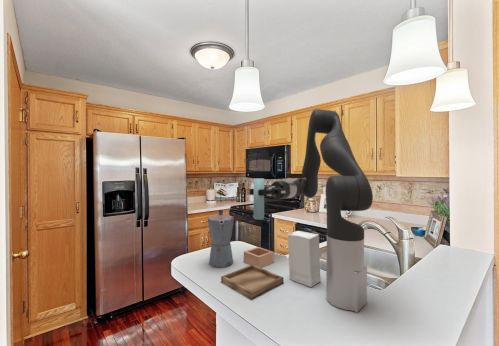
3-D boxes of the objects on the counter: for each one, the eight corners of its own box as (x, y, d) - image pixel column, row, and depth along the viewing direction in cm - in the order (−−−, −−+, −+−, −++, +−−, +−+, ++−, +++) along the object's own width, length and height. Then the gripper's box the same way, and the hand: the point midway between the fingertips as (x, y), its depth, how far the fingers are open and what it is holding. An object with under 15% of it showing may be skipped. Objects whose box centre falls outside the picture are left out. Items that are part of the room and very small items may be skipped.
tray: (283, 283, 73) (283, 277, 73) (251, 299, 63) (251, 293, 63) (252, 269, 83) (252, 264, 83) (221, 282, 73) (221, 276, 73)
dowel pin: (266, 218, 89) (266, 178, 89) (258, 220, 86) (258, 178, 86) (258, 217, 92) (258, 178, 92) (251, 218, 89) (251, 178, 89)
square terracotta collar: (273, 262, 89) (273, 251, 89) (258, 268, 84) (258, 257, 83) (258, 256, 95) (258, 246, 95) (243, 262, 89) (243, 251, 89)
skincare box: (320, 282, 74) (321, 234, 74) (310, 288, 70) (310, 238, 69) (298, 273, 80) (298, 229, 80) (287, 279, 76) (287, 232, 75)
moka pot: (209, 272, 80) (209, 213, 80) (206, 256, 95) (206, 206, 95) (236, 269, 82) (236, 212, 82) (229, 254, 97) (229, 205, 97)
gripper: (270, 180, 104) (241, 181, 92) (297, 181, 94) (268, 182, 82) (270, 197, 104) (241, 200, 92) (297, 200, 94) (268, 204, 82)
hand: (254, 192), depth 87 cm, fingers closed on dowel pin, 4 cm apart
